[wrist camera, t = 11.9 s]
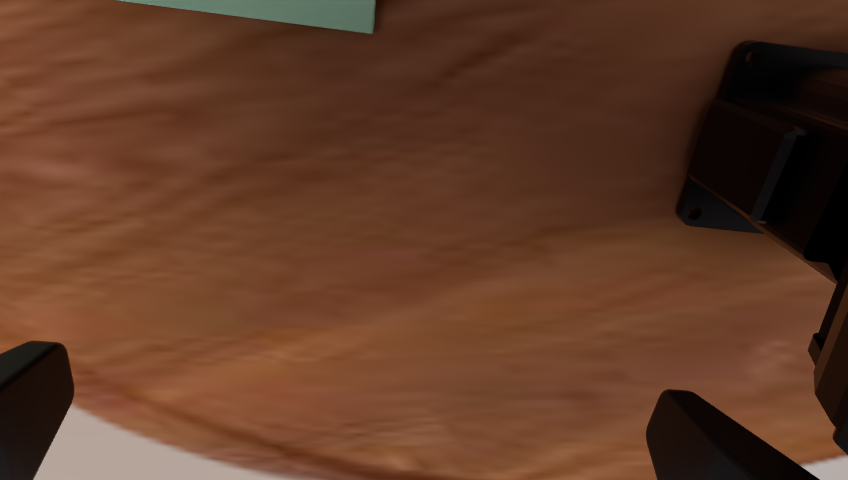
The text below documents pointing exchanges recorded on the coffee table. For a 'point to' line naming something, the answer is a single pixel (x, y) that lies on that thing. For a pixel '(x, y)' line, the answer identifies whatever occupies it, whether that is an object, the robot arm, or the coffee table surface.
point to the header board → (287, 11)
